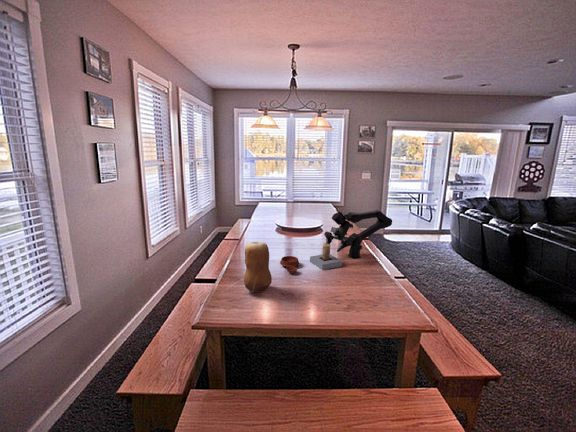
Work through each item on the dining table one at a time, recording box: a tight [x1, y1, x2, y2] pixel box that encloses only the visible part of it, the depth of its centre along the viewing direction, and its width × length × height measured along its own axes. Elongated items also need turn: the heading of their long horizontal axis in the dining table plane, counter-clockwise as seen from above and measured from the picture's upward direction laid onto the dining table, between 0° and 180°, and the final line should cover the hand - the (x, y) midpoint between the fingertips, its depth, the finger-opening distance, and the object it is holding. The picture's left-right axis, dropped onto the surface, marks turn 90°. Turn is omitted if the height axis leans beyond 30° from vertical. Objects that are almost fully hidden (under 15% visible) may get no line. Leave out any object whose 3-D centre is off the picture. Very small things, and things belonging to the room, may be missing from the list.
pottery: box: [279, 255, 300, 275], centre depth 173 cm, size 12×20×4 cm, turn 6°
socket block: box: [309, 253, 343, 271], centre depth 180 cm, size 14×14×4 cm
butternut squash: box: [243, 241, 273, 293], centre depth 142 cm, size 14×13×25 cm
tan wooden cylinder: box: [321, 243, 331, 261], centre depth 179 cm, size 5×5×12 cm
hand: (331, 249), depth 182 cm, fingers open, 9 cm apart
